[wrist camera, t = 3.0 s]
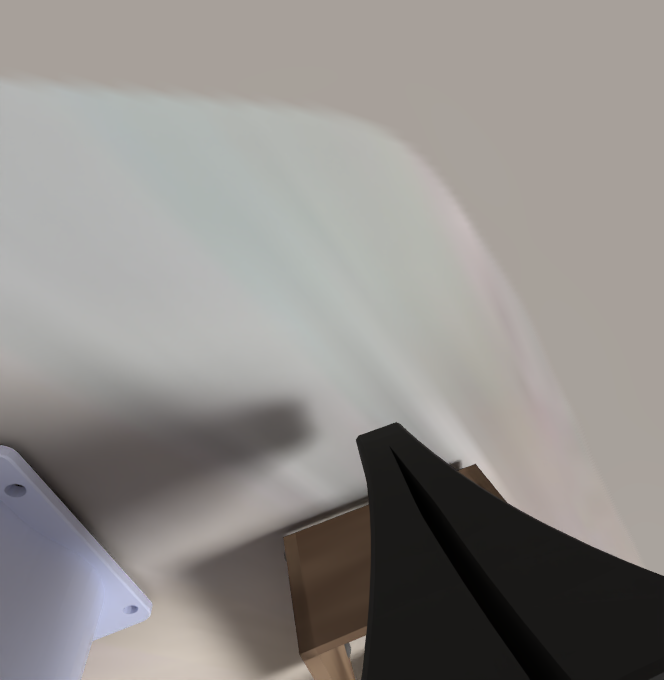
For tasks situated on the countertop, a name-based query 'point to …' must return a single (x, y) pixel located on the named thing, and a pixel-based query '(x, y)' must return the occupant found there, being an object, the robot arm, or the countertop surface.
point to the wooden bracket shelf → (336, 586)
